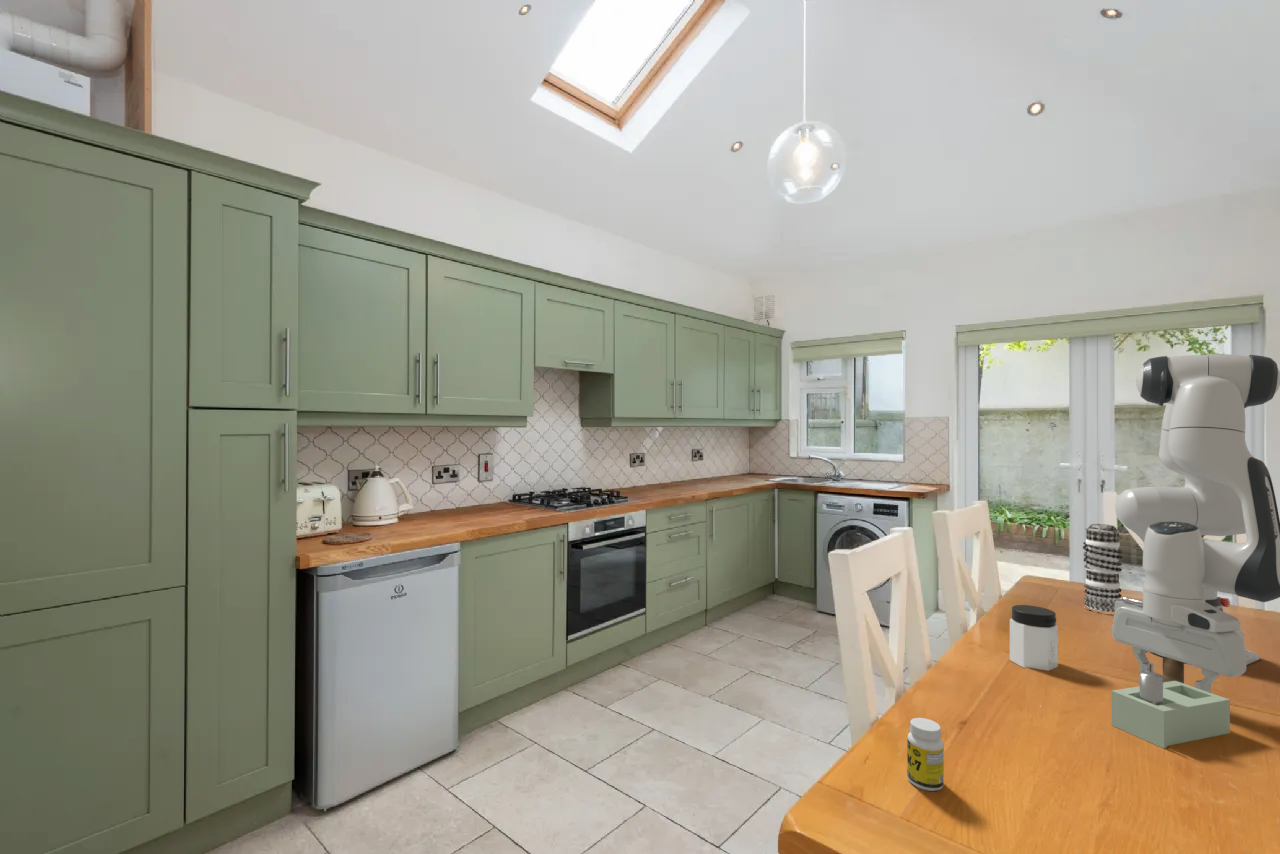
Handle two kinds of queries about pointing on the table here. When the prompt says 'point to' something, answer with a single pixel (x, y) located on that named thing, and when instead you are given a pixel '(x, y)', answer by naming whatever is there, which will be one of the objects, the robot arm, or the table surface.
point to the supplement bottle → (925, 755)
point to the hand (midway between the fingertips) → (1173, 681)
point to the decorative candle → (1102, 567)
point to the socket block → (1171, 714)
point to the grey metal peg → (1151, 687)
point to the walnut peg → (1173, 670)
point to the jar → (1033, 637)
